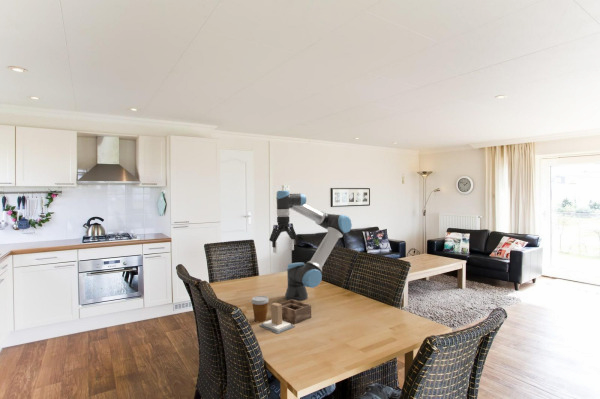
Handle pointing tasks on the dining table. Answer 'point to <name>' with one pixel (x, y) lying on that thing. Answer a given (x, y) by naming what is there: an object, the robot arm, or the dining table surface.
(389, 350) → the dining table surface
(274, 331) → the rubber mat
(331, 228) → the robot arm
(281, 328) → the cover plate
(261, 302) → the disposable coffee cup
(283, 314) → the wooden box
